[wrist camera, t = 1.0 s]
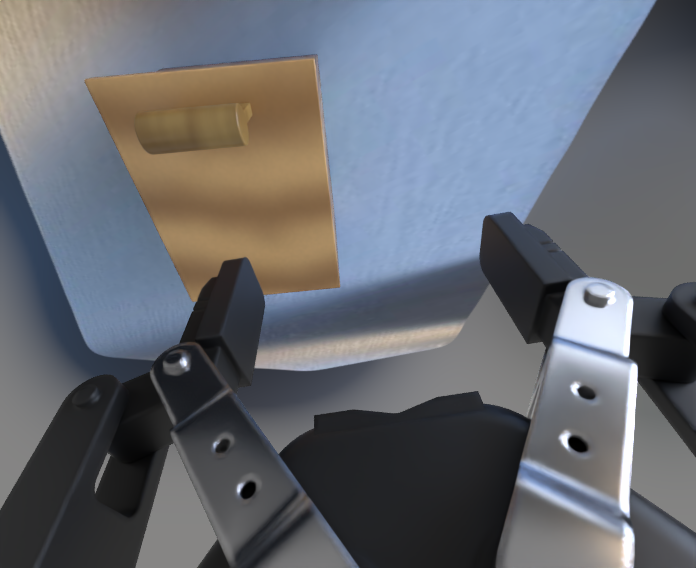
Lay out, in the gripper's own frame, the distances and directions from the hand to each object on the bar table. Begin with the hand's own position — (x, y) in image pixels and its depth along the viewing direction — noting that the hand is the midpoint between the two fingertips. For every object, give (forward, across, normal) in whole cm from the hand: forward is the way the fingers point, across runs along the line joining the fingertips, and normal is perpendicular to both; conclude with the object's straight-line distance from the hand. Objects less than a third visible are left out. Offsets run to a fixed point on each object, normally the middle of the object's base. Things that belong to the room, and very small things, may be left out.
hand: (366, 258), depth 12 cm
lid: (+14, +8, +3) cm, 16 cm away
